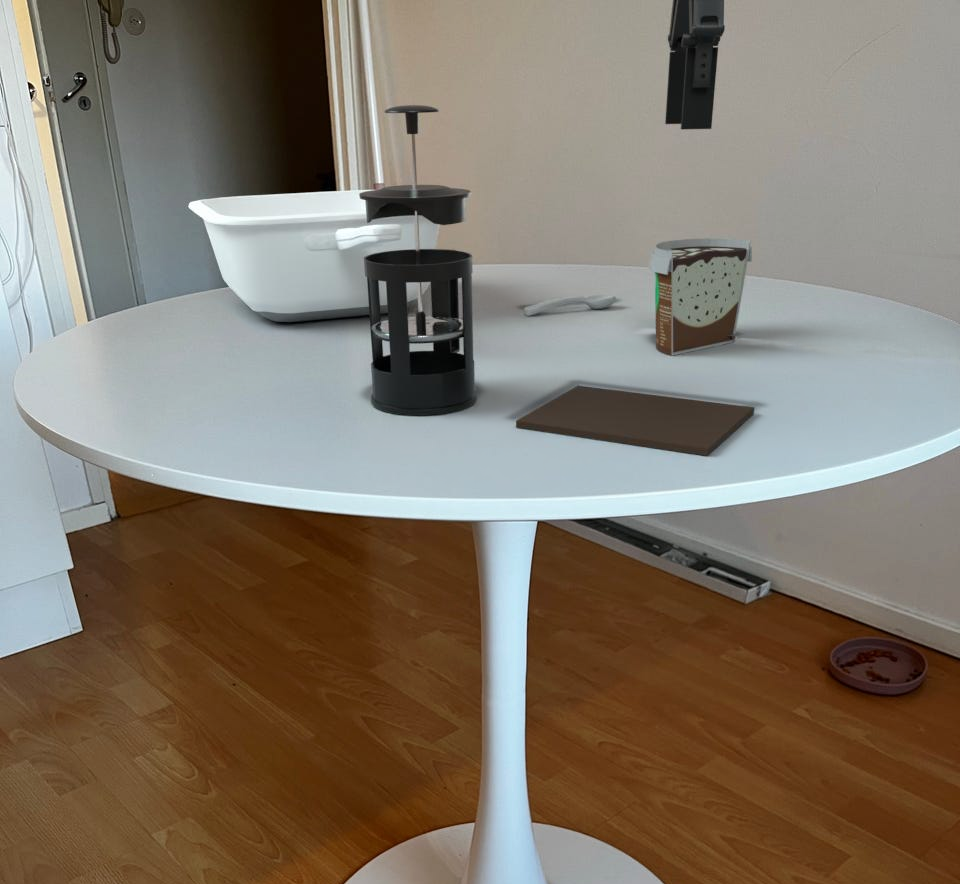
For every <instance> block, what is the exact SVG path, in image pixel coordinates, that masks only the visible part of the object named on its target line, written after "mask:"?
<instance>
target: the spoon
mask: <svg viewBox="0 0 960 884" xmlns="http://www.w3.org/2000/svg"><path fill="white" fill-rule="evenodd" d="M616 297H617V296H616V295H615V294H613V293H602V294H601V293H599V294H593V295H590V296H587V297H586V296H583V295H569V296H562V297H557V298H553V299H549V300H546V301H541V302H538V303H535V304H532V305H529V306H526V307H524V308H523V314H524V316H527V317H530V316H534V315H537V314H538V313H541V312H544V311H546V310H549V309H552V308H555V307H559V306H563V305H566V304H571V303H581V304H584V305H587V306H588V307H589V308H590V309H595V310H600V309H606V308H609V307H610V306H611V305H613V304H615V302H616Z"/></svg>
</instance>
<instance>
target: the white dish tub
mask: <svg viewBox="0 0 960 884" xmlns="http://www.w3.org/2000/svg"><path fill="white" fill-rule="evenodd" d="M373 190H374V189H353V190H350V189H349V190H334V191H332V190H331V191H313V192H312V191H311V192H296V193H293V192H292V193H276V194H256V195H254V194H253V195H238V196H237V195H236V196H224V197H213V198H205V199H198V200H193V201H190V202H189V203H188V209H189V210H191V211H192V212H193V213H194V214H196V215H197V216H198V217H200V218H201V219H202V220H203V223H204V226H205V229H206V232H207V235H208V238H209V241H210V244H211V247H212V250H213V253H214V256H215V259H216V262H217V265H218V268H219V271H220V274H221V277H222V279H223V281H224V282H225V284H226V285H227V286H228V287H229V288H230V289H231V291H232V292H234V293H235V295H237V297H239V298H240V300H242V302H244V303H245V304H246V305H247V306H248V307H249V308H250V309H251V310H252V311H253V312H255V313H256V314H258V315H259V316H260V317H263V318H266V319H268V320H270V321H272V322H277V323H278V322H279V323H296V322H307V321H316V320H317V321H318V320H329V319H339V318H350V317H361V316H370V314H369V299H368V284H367V277H366V276H365V270H364V257H365V256H368V255H371V254H374V253H380V252H386V251H395V250H409V249H416V247H415V225H414V216H397V217H386V218H379V219H374V220H372V221H371V222H370V223H367V218H366V203H365V200H363V199H360V196H359V194H360V193H362V192H366V191H373ZM418 220H419V243H420V249H437V245H438V239H439V234H440V233H439V232H440V228H441V225H439V224H434V223H432V222H431V221H429V220H428V219H426V218H425V217H423V216H422V215H418ZM430 285H431V282H421V290H422V295H424V294H425V292H426V291H427V289H428V287H429V286H430ZM406 286H407V306H408V307H410V306H411V305H413V304H414V303H415V302H417V301H418V292H417V282H412V283H406ZM379 297H380V313H381V315H382V314H383V315H384V314H388V308H387V291H386V281H379Z"/></svg>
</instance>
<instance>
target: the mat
mask: <svg viewBox="0 0 960 884" xmlns="http://www.w3.org/2000/svg"><path fill="white" fill-rule="evenodd" d="M754 415H755V406H746V405H739V404H731V403H723V402H715V401H714V402H713V401H706V400H698V399H691V398H682V397H674V396H665V395H659V394H649V393H642V392H635V391H634V392H633V391H626V390H620V389H619V390H617V389H610V388H603V387H594V386H586V385H576V386H574V387H573V388H571V389H569V390H568V391H566V392H564V393H562V394H560V395H559V396H557V397H555V398H553V399H551V400H549V401H548V402H546V403H545V404H543V405H540V406H539V407H537V408H536V409H533V410H531V412H529V413H527V414H525V415H523V416H522V417H520V418H518V419H517V420H516V421H515V428H516V429H523V430H530V431H538V432H542V433H543V432H544V433H550V434H556V435H565V436H570V437H577V438H585V439H589V440H598V441H604V442H610V443H611V442H612V443H618V444H623V445H631V446H638V447H644V448H645V447H646V448H650V449H659V450H664V451H671V452H677V453H684V454H685V453H686V454H692V455H697V456H704V457H708V456H710V454H712V453H713V452H714V451H715V450H716V449H717V448H718V447H719V446H720V445H722V444H723V443H724V442H725V441H726V440H727V439H728V438H729V437H730V436H731V435H733V434H734V433H735V432H736V431H737V430H738V429H739V428H740V427H741V426H742V425H743V424H745V423H746V422H747V421H748V420H749V419H750V418H752V416H754Z"/></svg>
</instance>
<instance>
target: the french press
mask: <svg viewBox="0 0 960 884" xmlns="http://www.w3.org/2000/svg"><path fill="white" fill-rule="evenodd" d="M439 112H440V111H439V108H436V107H434V106H429V105H419V104H409V105H407V104H406V105H398V106H392V107H389V108H386V109H385V110H384V113H385V114H404V116H405V127H406V128H405V129H406V135H409V136H410V155H411V157H410V158H411V174H412V175H411V177H412V178H411V179H412V184H404V185H391V186H384V187H382V188H379V189H372V190H373V191H366V192H362V193H360V194H359V196H360V199H363V200H365V203H366V218H367V223H370V222H371V221H372V220H374V219H379V218H386V217H397V216H414V225H415V247H416V249H409V250H395V251H386V252H380V253H374V254H371V255H368V256H365V257H364V270H365V276H366V277H367V284H368V299H369V314H370V315H369V327H370V329H369V330H370V341H371V343H370V345H371V356H372V357H371V358H372V361H371V363H370V368H371V371H370V373H371V383H372V384H371V385H372V394H371V395H370V404H371V406H372V407H373V408H375V409H377V410H379V411H382V412H385V413H388V414H389V413H390V414H394V415H401V416H403V415H404V416H436V415H446V414H451V413H455V412H460V411H462V410H466V409H469V408H470V407H472V406H474V405H475V404H476V403H477V401H478V393H477V390H476V388H475V387H476V384H475V383H476V379H475V360H474V326H473V325H474V323H473V319H474V318H473V277H472V276H473V275H472V274H473V270H474V269H473V255H472V253H470V252H466V251H462V250H457V249H446V248H436V249H420V243H419V220H418V215H422V216H423V217H425V218H426V219H428V220H429V221H431V222H432V223H434V224H439V225H440V226H449V225H457V224H460V223H464V222H466V220H467V203H466V202H467V200H466V198H469V197H471V196H472V191H471V190H470V189H465V188H457V187H456V188H455V187H450V186H446V185H441V184H418V180H417V179H418V178H417V176H418V175H417V173H418V172H417V153H416V152H417V151H416V135H419V114H424V113H425V114H426V113H439ZM459 279H461V305H462V306H461V307H462V319H460V307H459V300H460V299H459ZM379 281H386V291H387V308H388V313H387V319H385V320H382V314H381V313H380V297H379ZM412 282H417V292H418V299H417V311H416V312H415V316H409V310H408V309H409V306H407V286H406V283H412ZM421 282H430V298H431V299H430V300H431V301H430V302H431V315H426V313H425V311H424V310H423V294H422V290H421ZM460 339H462V346H463V350H462V351H463V353H459V352H460V350H461V345H460V344H461V341H460ZM383 341H384V342H388V343H389V354H387V355H384V347H383ZM412 344H418V345H419V344H420V345H421V344H432V350H410V349H411V348H410V347H411V346H410V345H412Z"/></svg>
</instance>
